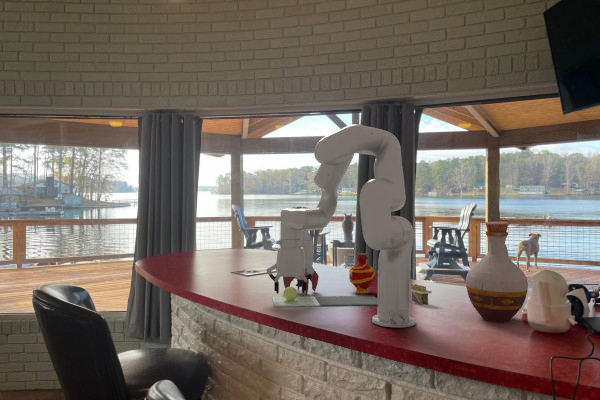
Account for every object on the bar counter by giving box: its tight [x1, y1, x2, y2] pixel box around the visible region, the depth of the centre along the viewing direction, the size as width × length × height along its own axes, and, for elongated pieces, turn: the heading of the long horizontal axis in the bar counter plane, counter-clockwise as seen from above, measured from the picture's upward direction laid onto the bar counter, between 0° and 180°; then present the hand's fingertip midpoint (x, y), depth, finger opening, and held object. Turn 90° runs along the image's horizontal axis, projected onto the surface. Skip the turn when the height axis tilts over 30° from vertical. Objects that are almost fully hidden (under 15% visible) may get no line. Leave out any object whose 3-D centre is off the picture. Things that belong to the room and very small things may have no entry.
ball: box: [282, 286, 299, 301], centre depth 170 cm, size 5×5×5 cm
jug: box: [465, 221, 529, 323], centre depth 150 cm, size 20×18×30 cm
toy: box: [282, 231, 319, 297], centre depth 187 cm, size 11×11×30 cm
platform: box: [410, 283, 433, 306], centre depth 171 cm, size 12×18×7 cm, turn 30°
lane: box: [271, 295, 378, 308], centre depth 171 cm, size 14×38×1 cm, turn 96°
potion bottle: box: [348, 252, 376, 294], centre depth 190 cm, size 10×10×15 cm
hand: (290, 292), depth 169 cm, fingers open, 8 cm apart
